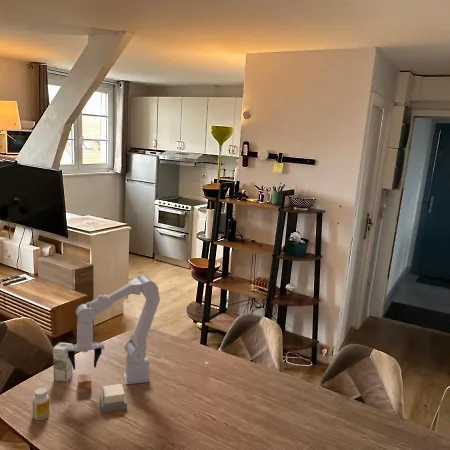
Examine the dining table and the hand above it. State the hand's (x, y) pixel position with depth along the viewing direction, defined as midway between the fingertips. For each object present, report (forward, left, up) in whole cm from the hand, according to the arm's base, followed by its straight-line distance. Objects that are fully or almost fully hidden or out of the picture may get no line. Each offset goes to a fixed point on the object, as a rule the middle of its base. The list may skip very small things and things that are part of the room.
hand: (84, 367), depth 165 cm
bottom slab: (-10, +12, -10) cm, 19 cm away
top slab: (-10, +12, -7) cm, 17 cm away
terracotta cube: (0, 0, -10) cm, 10 cm away
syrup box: (+8, -10, -10) cm, 16 cm away
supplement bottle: (+15, +13, -10) cm, 22 cm away
